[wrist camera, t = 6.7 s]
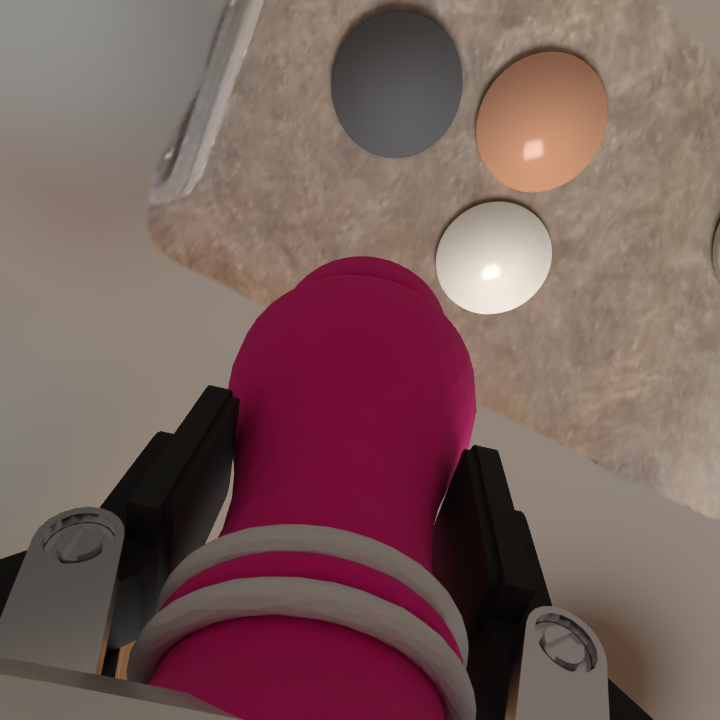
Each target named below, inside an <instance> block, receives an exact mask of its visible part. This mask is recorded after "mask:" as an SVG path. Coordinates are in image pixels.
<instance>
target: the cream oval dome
mask: <svg viewBox="0 0 720 720" xmlns="http://www.w3.org/2000/svg"><path fill="white" fill-rule="evenodd" d="M551 260H552V246H551V241H550V237H549V234H548V232H547V230H546V228H545V226H544V225H543V223H542V222H541V221H540V219H539V218H538V217H536V216H535V215H534V214H533V213H532V212H530V211H529V210H527V209H526V208H524V207H522V206H520V205H517V204H514V203H510V202H501V201H496V202H487V203H483V204H480V205H477V206H474V207H472V208H470V209H468V210H466V211H465V212H463V213H462V214H460V215H459V216H458V217H457V218H456V219H455V220H454V221H453V222H452V223H451V224H450V225H449V226H448V228H447V229H446V231H445V232H444V234H443V236H442V238H441V240H440V242H439V245H438V249H437V253H436V270H437V276H438V279H439V282H440V284H441V286H442V288H443V290H444V292H445V293H446V294H447V296H448V297H449V298H450V299H451V300H452V301H453V302H455V303H456V304H457V305H459V306H460V307H462V308H464V309H466V310H468V311H471V312H475V313H480V314H497V313H502V312H506V311H509V310H512V309H514V308H516V307H518V306H520V305H522V304H523V303H525V302H526V301H527V300H529V299H530V298H531V297H532V296H533V295H534V294H535V293H536V292H537V291H538V290H539V288H540V287H541V286H542V284H543V282H544V281H545V279H546V277H547V275H548V272H549V269H550V265H551Z"/></svg>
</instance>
